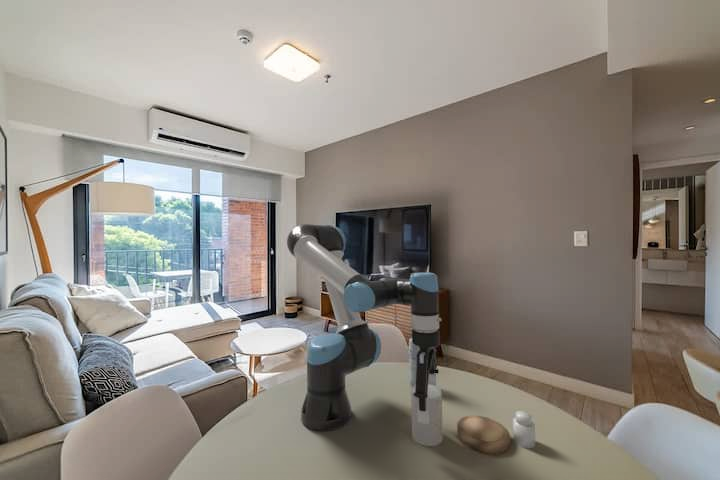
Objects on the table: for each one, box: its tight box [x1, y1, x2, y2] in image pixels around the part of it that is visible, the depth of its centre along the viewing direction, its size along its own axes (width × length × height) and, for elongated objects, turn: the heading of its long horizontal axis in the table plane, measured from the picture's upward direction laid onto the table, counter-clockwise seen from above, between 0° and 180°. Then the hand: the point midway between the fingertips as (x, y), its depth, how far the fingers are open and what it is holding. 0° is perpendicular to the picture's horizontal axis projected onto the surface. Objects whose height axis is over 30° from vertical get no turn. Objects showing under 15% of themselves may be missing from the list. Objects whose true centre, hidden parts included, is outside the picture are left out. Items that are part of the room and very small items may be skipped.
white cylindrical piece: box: [410, 384, 444, 447], centre depth 78 cm, size 8×8×12 cm
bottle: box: [407, 337, 420, 387], centre depth 107 cm, size 7×7×20 cm
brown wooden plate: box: [456, 415, 511, 455], centre depth 77 cm, size 13×13×2 cm
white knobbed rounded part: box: [512, 410, 536, 450], centre depth 75 cm, size 5×5×7 cm
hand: (428, 408), depth 77 cm, fingers open, 13 cm apart
